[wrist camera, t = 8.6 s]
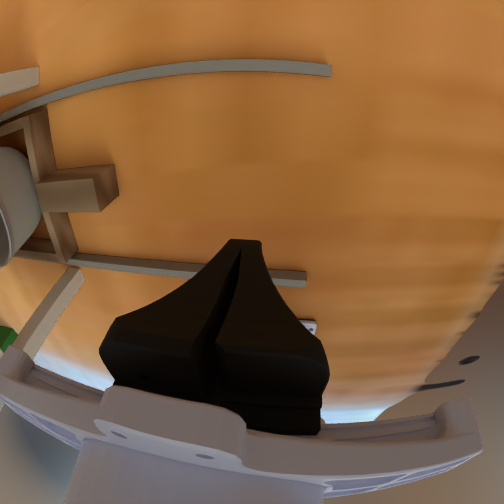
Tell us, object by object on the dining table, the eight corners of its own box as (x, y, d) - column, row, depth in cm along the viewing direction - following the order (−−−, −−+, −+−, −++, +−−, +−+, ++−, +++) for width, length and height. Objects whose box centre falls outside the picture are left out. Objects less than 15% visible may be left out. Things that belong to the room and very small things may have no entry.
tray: (132, 253, 25) (117, 274, 23) (-4, 241, 27) (-17, 253, 25) (106, 92, 17) (81, 98, 14) (-32, 142, 19) (-49, 151, 16)
